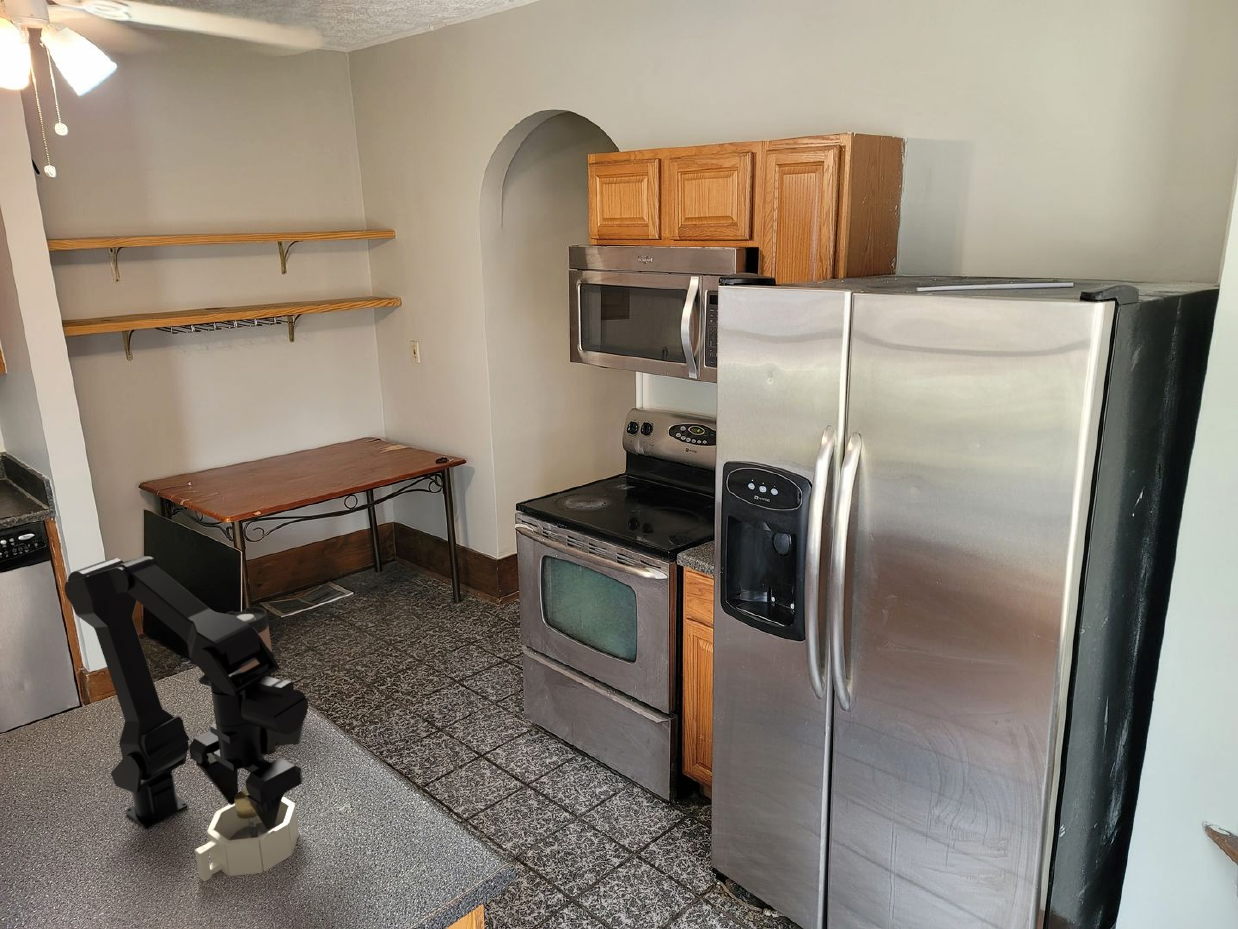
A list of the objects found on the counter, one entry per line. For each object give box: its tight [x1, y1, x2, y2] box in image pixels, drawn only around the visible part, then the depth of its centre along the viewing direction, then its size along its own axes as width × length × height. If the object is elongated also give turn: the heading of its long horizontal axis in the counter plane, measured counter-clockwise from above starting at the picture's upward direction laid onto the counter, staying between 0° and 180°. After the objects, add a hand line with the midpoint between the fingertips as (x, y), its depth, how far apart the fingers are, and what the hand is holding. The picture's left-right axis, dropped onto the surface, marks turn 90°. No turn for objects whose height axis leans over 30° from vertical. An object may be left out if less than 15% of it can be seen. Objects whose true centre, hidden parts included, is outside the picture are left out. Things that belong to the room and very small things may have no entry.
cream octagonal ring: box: [194, 796, 300, 882], centre depth 124 cm, size 11×13×5 cm
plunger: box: [230, 788, 277, 840], centre depth 125 cm, size 7×7×8 cm
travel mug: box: [225, 606, 276, 679], centre depth 158 cm, size 8×8×20 cm
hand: (251, 815), depth 125 cm, fingers open, 9 cm apart
